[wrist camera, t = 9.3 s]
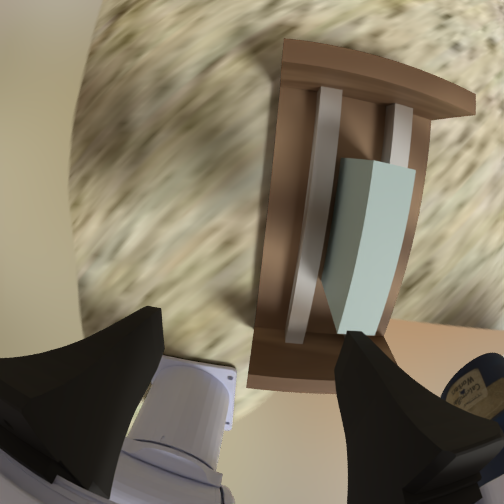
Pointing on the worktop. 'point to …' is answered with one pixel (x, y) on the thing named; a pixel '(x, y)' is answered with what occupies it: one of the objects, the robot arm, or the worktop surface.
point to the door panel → (365, 241)
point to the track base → (333, 195)
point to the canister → (481, 399)
